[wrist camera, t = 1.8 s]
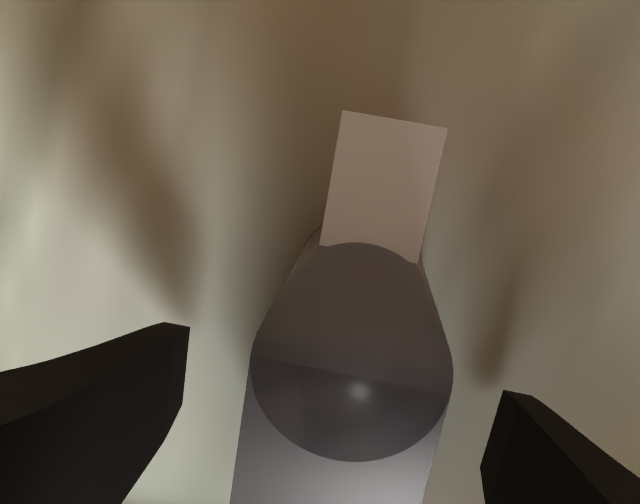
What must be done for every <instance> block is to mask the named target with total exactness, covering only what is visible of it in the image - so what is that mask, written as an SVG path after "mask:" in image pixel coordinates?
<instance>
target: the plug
mask: <svg viewBox="0 0 640 504" xmlns="http://www.w3.org/2000/svg"><path fill="white" fill-rule="evenodd" d="M447 132H448V128H445V127H439V126H433V125H428V124H422V123H416V122H410V121H404V120H399V119H393V118H387V117H381V116H375V115H370V114H364V113H358V112H352V111H346V110H342V115H341V121H340V127H339V132H338V138H337V144H336V150H335V156H334V162H333V167H332V173H331V179H330V185H329V191H328V197H327V202H326V208H325V214H324V220H323V225H322V226H320V227H319V228H318V229H317V230H316V231H315V232H314V233H313V234H312V235H311V236H310V238H309V239H308V240H307V242H306V244H305V246H304V248H303V249H302V251H301V253H300V255H299V257H298V259H297V260H296V262H295V264H294V266H293V268H292V270H291V271H290V273H289V275H288V277H287V279H286V281H285V282H284V284H283V286H282V288H281V290H280V292H279V293H278V295H277V297H276V299H275V301H274V303H273V304H272V306H271V308H270V310H269V312H268V314H267V315H266V317H265V319H264V321H263V323H262V324H261V326H260V328H259V330H258V332H257V334H256V337H255V340H254V342H253V347H252V351H251V356H250V364H249V371H248V378H247V385H246V392H245V399H244V406H243V413H242V420H241V427H240V434H239V441H238V448H237V455H236V462H235V469H234V477H233V484H232V491H231V498H230V504H421V503H422V500H423V496H424V492H425V488H426V485H427V481H428V477H429V473H430V470H431V466H432V462H433V458H434V455H435V451H436V447H437V444H438V440H439V436H440V432H441V429H442V425H443V421H444V417H445V414H446V410H447V406H448V403H449V399H450V395H451V390H452V384H453V365H452V357H451V353H450V350H449V346H448V343H447V340H446V336H445V333H444V330H443V327H442V324H441V321H440V318H439V314H438V311H437V308H436V305H435V302H434V299H433V296H432V293H431V289H430V286H429V283H428V280H427V277H426V274H425V271H424V267H423V264H422V261H421V258H420V250H421V246H422V242H423V237H424V233H425V229H426V224H427V220H428V215H429V211H430V207H431V202H432V198H433V194H434V189H435V185H436V180H437V176H438V172H439V167H440V163H441V159H442V154H443V150H444V146H445V141H446V137H447Z"/></svg>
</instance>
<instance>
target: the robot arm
mask: <svg viewBox="0 0 640 504" xmlns="http://www.w3.org/2000/svg"><path fill="white" fill-rule="evenodd" d="M189 333H190V327H187V326H182V325H177V324H172V323H167V322H163V323H158V324H155V325H152V326H149V327H146V328H143V329H140V330H137V331H135V332H132V333H129V334H126V335H124V336H121V337H118V338H115V339H112V340H110V341H107V342H104V343H101V344H99V345H96V346H93V347H90V348H86V349H83V350H80V351H77V352H74V353H71V354H68V355H64V356H61V357H58V358H55V359H52V360H48V361H44V362H41V363H37V364H33V365H29V366H24V367H20V368H16V369H11V370H7V371H2V372H0V504H121V503H122V502H123V500H124V499H125V498H126V496H127V495H128V493H129V492H130V490H131V489H132V487H133V486H134V484H135V483H136V482H137V480H138V479H139V477H140V476H141V474H142V473H143V471H144V470H145V468H146V467H147V466H148V464H149V463H150V461H151V460H152V458H153V457H154V455H155V454H156V452H157V451H158V449H159V448H160V446H161V445H162V443H163V442H164V440H165V438H166V436H167V434H168V432H169V430H170V428H171V426H172V424H173V422H174V420H175V418H176V416H177V414H178V412H179V410H180V408H181V406H182V401H183V391H184V381H185V372H186V362H187V352H188V342H189ZM480 470H481V477H482V485H483V492H484V498H485V504H640V478H639V477H637V476H636V475H635V474H633V473H632V472H631V471H629V470H628V469H626V468H625V467H624V466H622V465H621V464H620V463H618V462H617V461H616V460H614V459H613V458H612V457H610V456H609V455H608V454H607V453H605V452H604V451H603V450H601V449H600V448H599V447H598V446H596V445H595V444H594V443H593V442H591V441H590V440H589V439H588V438H586V437H585V436H584V435H583V434H581V433H580V432H579V431H578V430H576V429H575V428H574V427H573V426H571V425H570V424H569V423H568V422H566V421H565V420H564V419H563V418H561V417H560V416H559V415H558V414H556V413H555V412H554V411H553V410H551V409H550V408H549V407H547V406H546V405H545V404H543V403H542V402H540V401H539V400H537V399H536V398H534V397H533V396H531V395H526V394H521V393H516V392H511V391H506V390H503V393H502V396H501V399H500V403H499V406H498V409H497V413H496V416H495V419H494V423H493V426H492V429H491V433H490V436H489V439H488V442H487V446H486V449H485V452H484V456H483V459H482V462H481V466H480Z"/></svg>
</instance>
